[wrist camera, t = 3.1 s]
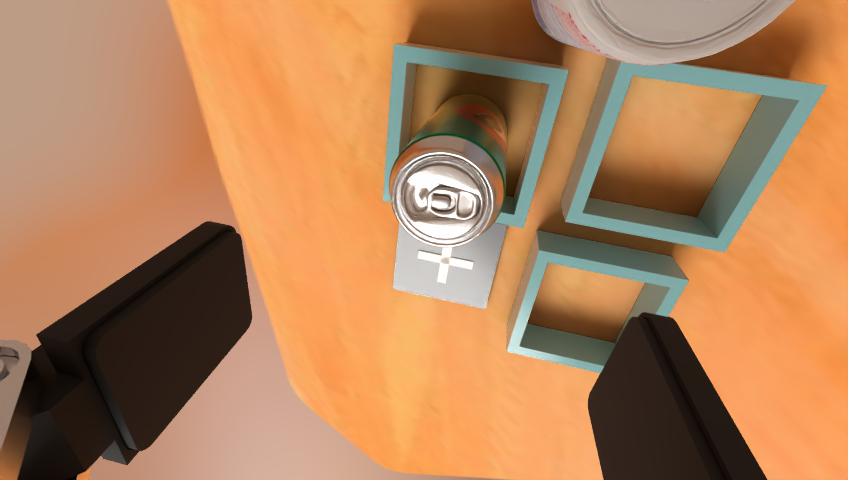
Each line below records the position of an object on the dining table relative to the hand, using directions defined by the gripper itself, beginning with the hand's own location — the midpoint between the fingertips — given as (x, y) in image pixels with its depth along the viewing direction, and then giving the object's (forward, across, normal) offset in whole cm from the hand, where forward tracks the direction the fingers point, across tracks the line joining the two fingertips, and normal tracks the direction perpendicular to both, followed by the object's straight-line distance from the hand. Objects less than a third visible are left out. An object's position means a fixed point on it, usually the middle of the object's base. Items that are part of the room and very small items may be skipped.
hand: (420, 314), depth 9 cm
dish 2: (+19, -11, +11) cm, 24 cm away
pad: (+19, 0, +10) cm, 22 cm away
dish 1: (+19, 0, 0) cm, 19 cm away
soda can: (+19, 0, 0) cm, 19 cm away
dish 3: (+19, -12, -1) cm, 22 cm away
